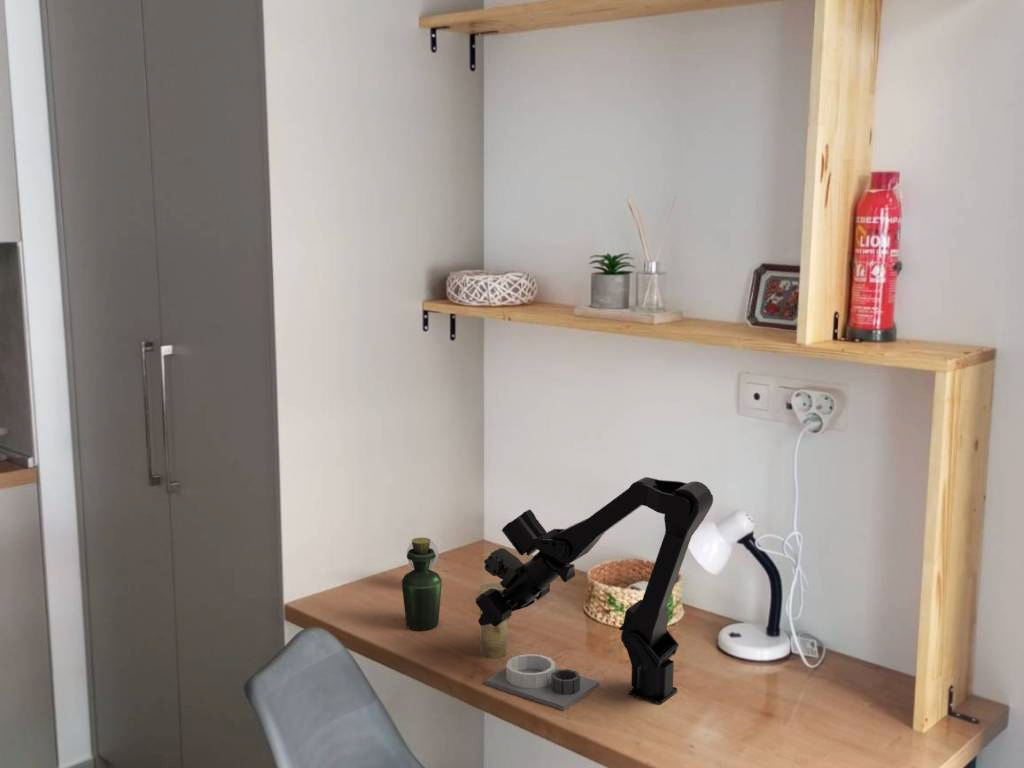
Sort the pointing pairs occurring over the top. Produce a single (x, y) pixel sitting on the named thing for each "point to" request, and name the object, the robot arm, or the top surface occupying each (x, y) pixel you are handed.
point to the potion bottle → (421, 588)
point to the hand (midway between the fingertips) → (487, 618)
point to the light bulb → (431, 560)
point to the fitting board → (543, 691)
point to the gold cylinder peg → (493, 632)
